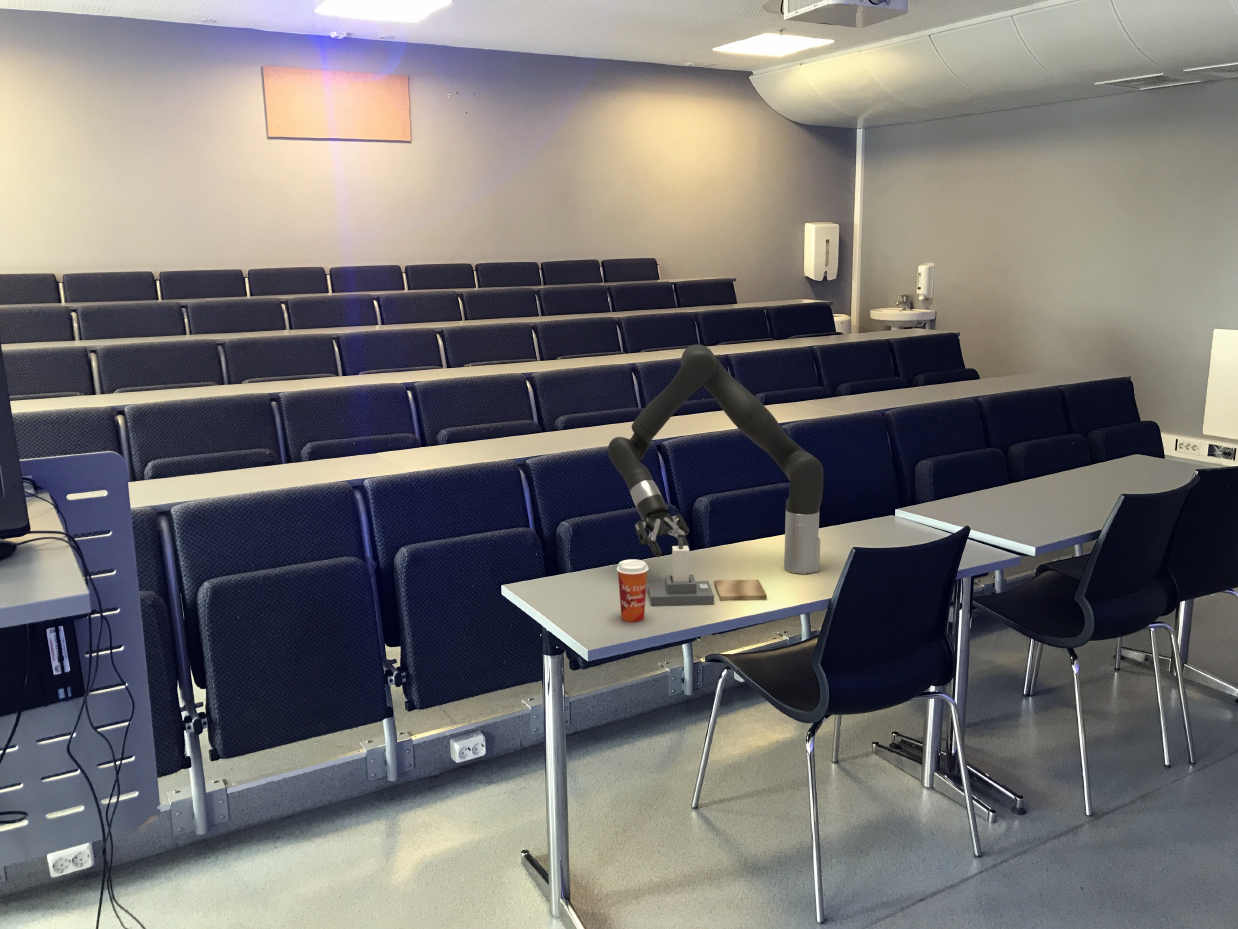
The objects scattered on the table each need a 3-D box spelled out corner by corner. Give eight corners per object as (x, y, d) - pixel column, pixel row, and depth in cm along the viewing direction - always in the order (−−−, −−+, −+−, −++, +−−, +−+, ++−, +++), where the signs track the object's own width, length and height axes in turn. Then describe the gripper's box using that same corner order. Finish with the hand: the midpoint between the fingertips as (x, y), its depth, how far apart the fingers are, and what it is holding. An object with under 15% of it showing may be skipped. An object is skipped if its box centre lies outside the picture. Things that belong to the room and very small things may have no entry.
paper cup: (620, 625, 225) (620, 570, 222) (614, 613, 232) (613, 560, 229) (652, 622, 226) (651, 567, 223) (645, 610, 234) (644, 557, 231)
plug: (687, 585, 244) (687, 535, 241) (689, 591, 240) (689, 540, 237) (672, 586, 244) (672, 535, 241) (673, 591, 240) (673, 540, 237)
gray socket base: (708, 589, 248) (708, 571, 247) (713, 604, 237) (714, 586, 236) (648, 590, 248) (648, 572, 246) (651, 606, 237) (651, 587, 236)
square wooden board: (758, 583, 252) (758, 579, 252) (766, 599, 240) (766, 595, 240) (714, 584, 252) (714, 580, 251) (720, 600, 240) (720, 596, 240)
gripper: (631, 497, 243) (656, 550, 236) (676, 489, 251) (701, 541, 244) (621, 512, 249) (644, 564, 242) (665, 504, 256) (689, 555, 249)
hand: (673, 552), depth 243 cm, fingers open, 8 cm apart
